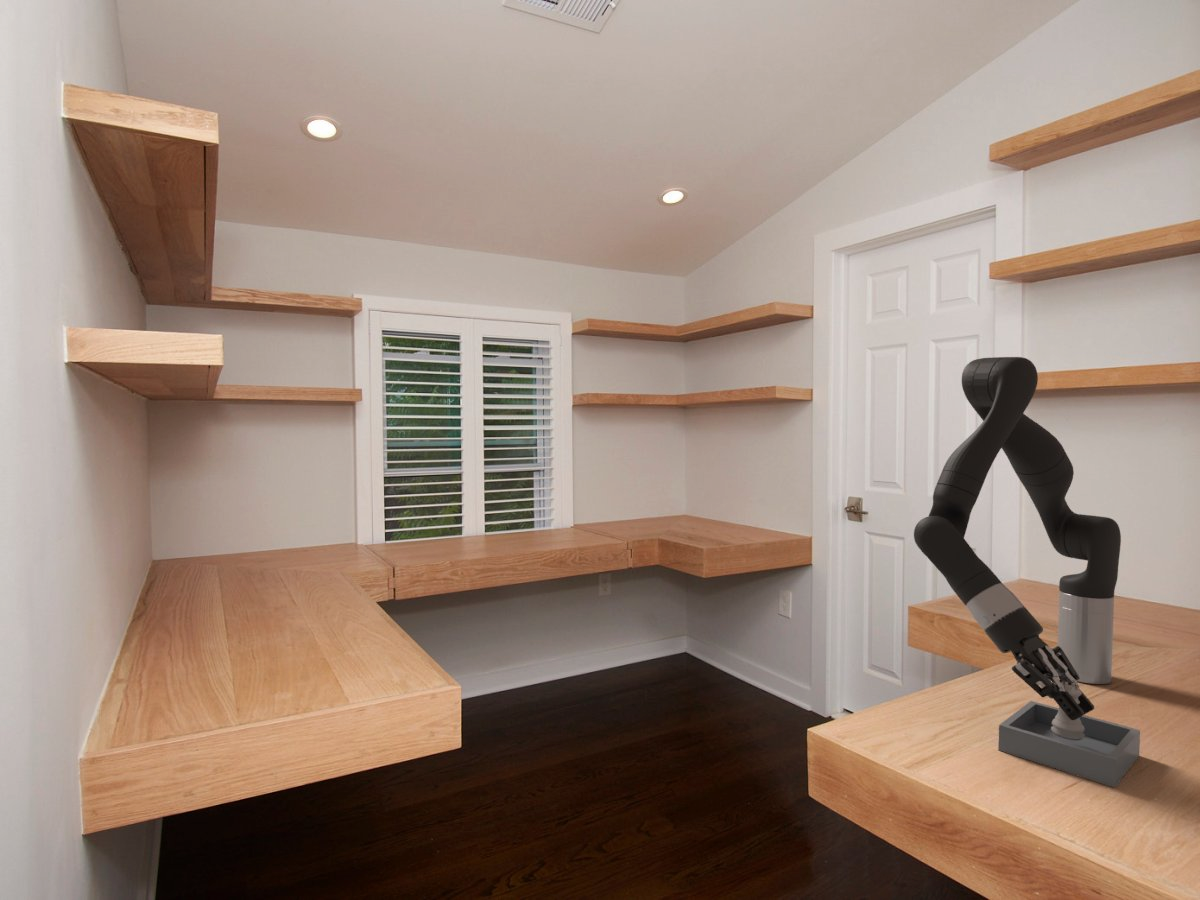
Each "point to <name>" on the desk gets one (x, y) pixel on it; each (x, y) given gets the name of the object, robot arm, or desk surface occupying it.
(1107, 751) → the tray
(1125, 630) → the desk surface
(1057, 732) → the rook chess piece
